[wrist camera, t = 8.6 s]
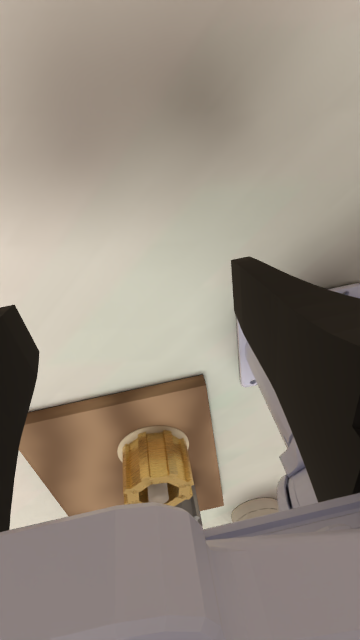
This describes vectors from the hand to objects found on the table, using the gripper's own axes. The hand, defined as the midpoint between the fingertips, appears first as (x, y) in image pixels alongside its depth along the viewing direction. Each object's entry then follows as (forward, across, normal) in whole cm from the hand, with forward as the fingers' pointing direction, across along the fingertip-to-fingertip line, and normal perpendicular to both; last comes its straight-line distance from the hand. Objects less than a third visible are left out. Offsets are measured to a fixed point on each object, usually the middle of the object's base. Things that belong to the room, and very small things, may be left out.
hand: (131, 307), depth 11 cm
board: (+10, +5, +24) cm, 26 cm away
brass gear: (+9, +2, +21) cm, 23 cm away
